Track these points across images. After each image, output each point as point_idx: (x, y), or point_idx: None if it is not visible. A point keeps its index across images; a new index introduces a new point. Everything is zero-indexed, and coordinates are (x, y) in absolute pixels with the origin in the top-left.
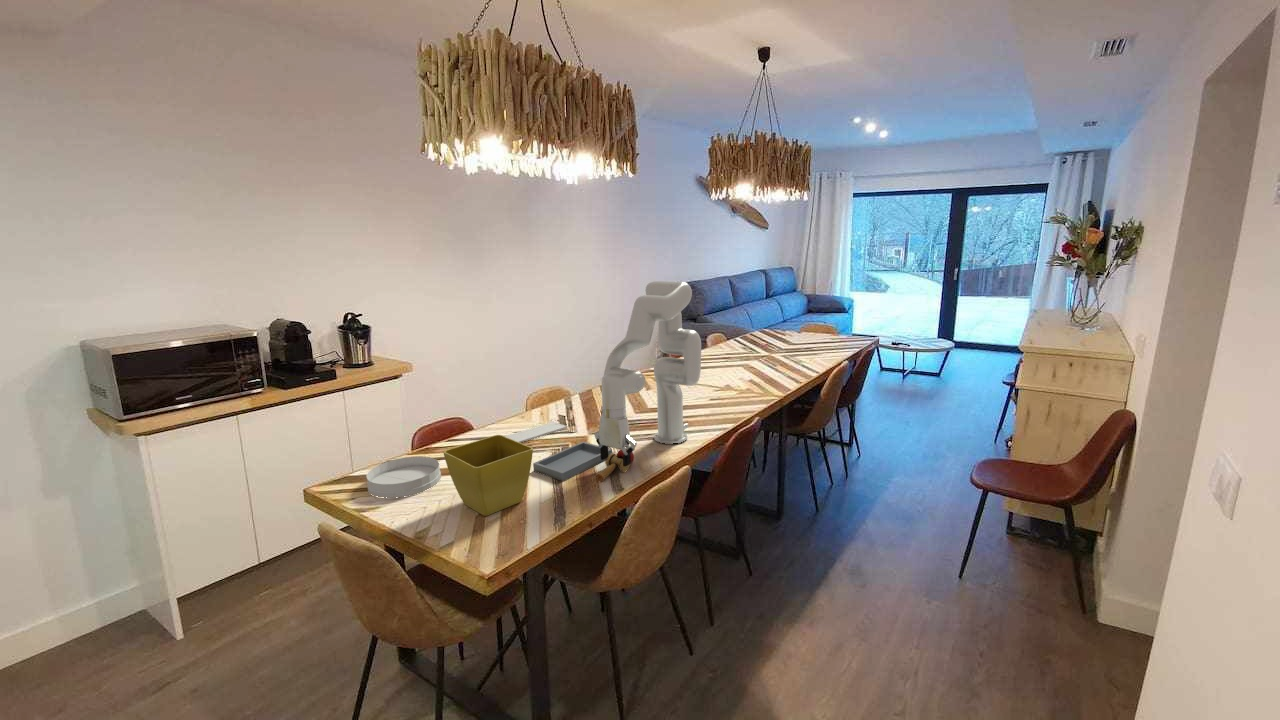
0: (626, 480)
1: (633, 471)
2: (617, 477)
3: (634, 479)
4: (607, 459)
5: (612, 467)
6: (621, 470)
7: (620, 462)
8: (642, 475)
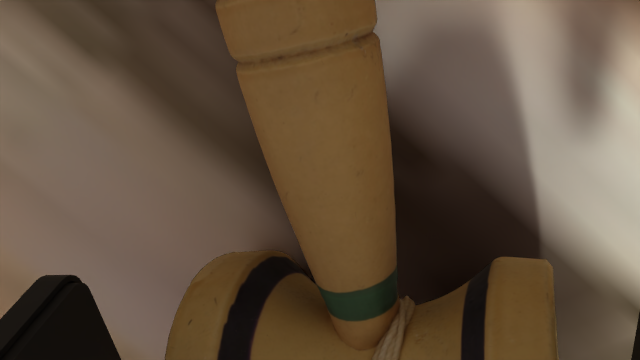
0: (30, 110)
1: None
2: (187, 100)
3: (4, 190)
4: (537, 326)
5: (273, 178)
6: (248, 252)
7: (250, 353)
8: None
